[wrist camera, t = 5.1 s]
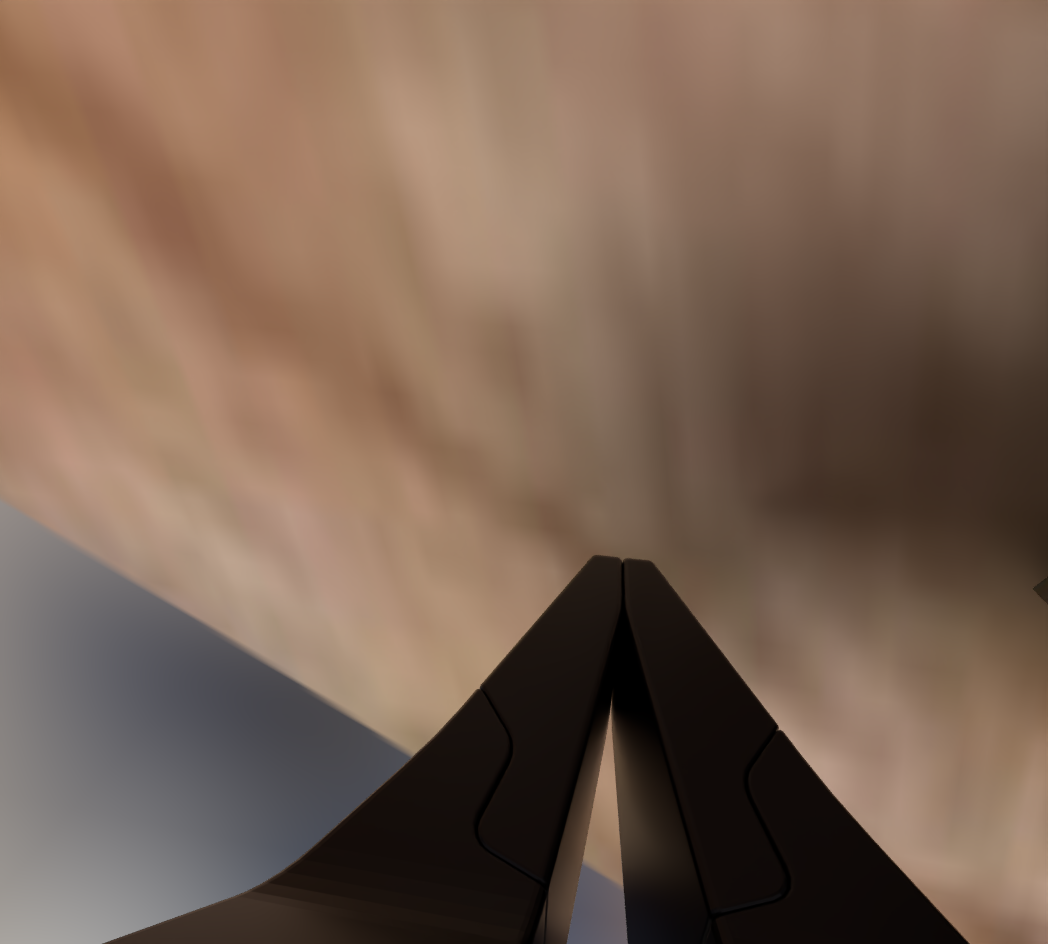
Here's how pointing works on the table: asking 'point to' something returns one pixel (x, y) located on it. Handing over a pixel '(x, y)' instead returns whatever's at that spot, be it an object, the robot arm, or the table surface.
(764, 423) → the table surface
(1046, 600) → the pipe connector
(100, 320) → the table surface
